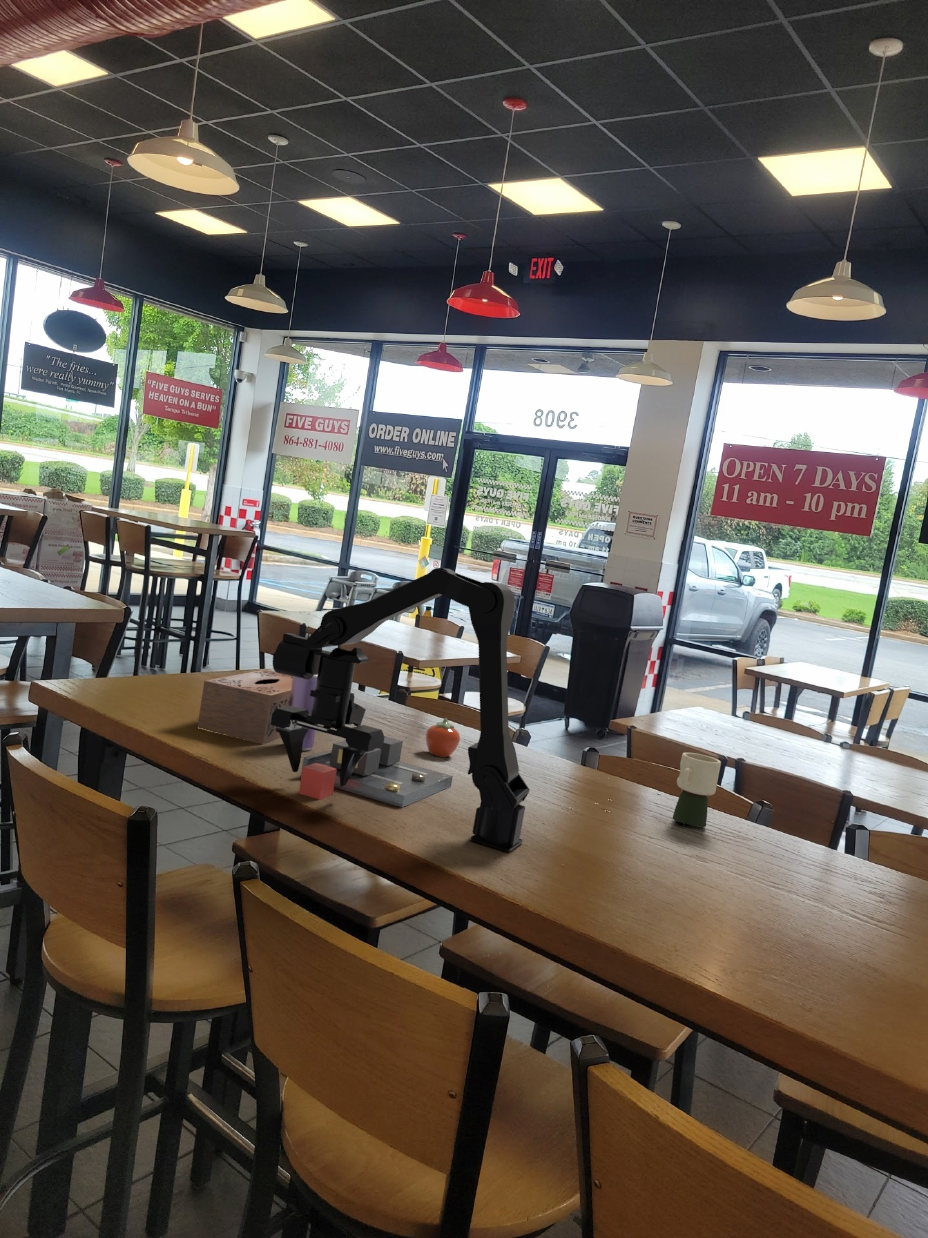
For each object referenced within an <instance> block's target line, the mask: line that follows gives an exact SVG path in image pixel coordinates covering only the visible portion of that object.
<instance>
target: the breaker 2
mask: <svg viewBox="0 0 928 1238" xmlns="http://www.w3.org/2000/svg"><path fill="white" fill-rule="evenodd" d="M403 743H404V740H400V739H396V738H393V737H390V736H386V735H384V743H383V747H380V748H379V749H381V755H380V761H379V764H382V765H386V766H388V765H391V764H394V763H397V762H399V761H400V760H401V756H402V755H401V754H402V751H403V748H402V747H403Z"/></svg>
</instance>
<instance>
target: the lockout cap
mask: <svg viewBox="0 0 928 1238" xmlns="http://www.w3.org/2000/svg"><path fill="white" fill-rule="evenodd" d="M301 771H302V776H301V775H300V784H299V790H298V794H299V795H304V796H307V797H310V798H313V799H317V800H322V799H326V798H328V797H331V796H333V795H334V788H335V787H334V783H335V777H336V771H337V769H335V768H332V767H328V766H325V765H321V764H318V763H315V764H311V765H307V766H304V767H303V770H302V769H301Z"/></svg>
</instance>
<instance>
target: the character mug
mask: <svg viewBox="0 0 928 1238" xmlns="http://www.w3.org/2000/svg"><path fill="white" fill-rule="evenodd" d="M721 764H722V762H721V760H719V759H718V758H715V757H712V756H710V755H706V754H701V753H697V752H696V753H695V752H683V753H682V755H681V759H680V763H679V767H680V770H679V774H678V777H677V779H676V785H677V787H679V788H680V789H681V792H680V794H679V797H678V799H677V802H676V805H675V808H674V811H673V816H672V820H673V821H675V822H678V823H683V826H685V827H687V826H688V825H690V826H693V827H696V828H697V827H698V828H706V827H707V818H708V808H709V807H708V805H709V800H708V799H709V798H708V797H707V796H713V795H715V794H716V792H717V791H716V790H717V787H718V786H717V785H718V779H719V776H720V775H719V774H720V771H721Z"/></svg>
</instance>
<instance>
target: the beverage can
mask: <svg viewBox="0 0 928 1238" xmlns="http://www.w3.org/2000/svg"><path fill="white" fill-rule="evenodd" d="M317 675H318V674H316V675H314V676H313V677H312V678H311V679H309V680H307V679H303V678H298V677H294V676H293V681H292V687H291V693H290V700H289V706H294V707H298V708H302V709H306V710H308V712H309V714H311V713H312V706H313V700H314V697H312V696H310V692H311V690H313V689H315V688H316V682H317ZM316 731H317V730H313V729H308V731H307V733H306V735H305V737H304V739H303V746H302V752H309V751H310V750H312V749H313V747H314V745H315V738H316V733H317V732H316ZM282 743H283V742H282ZM283 745H284V743H283Z"/></svg>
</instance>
